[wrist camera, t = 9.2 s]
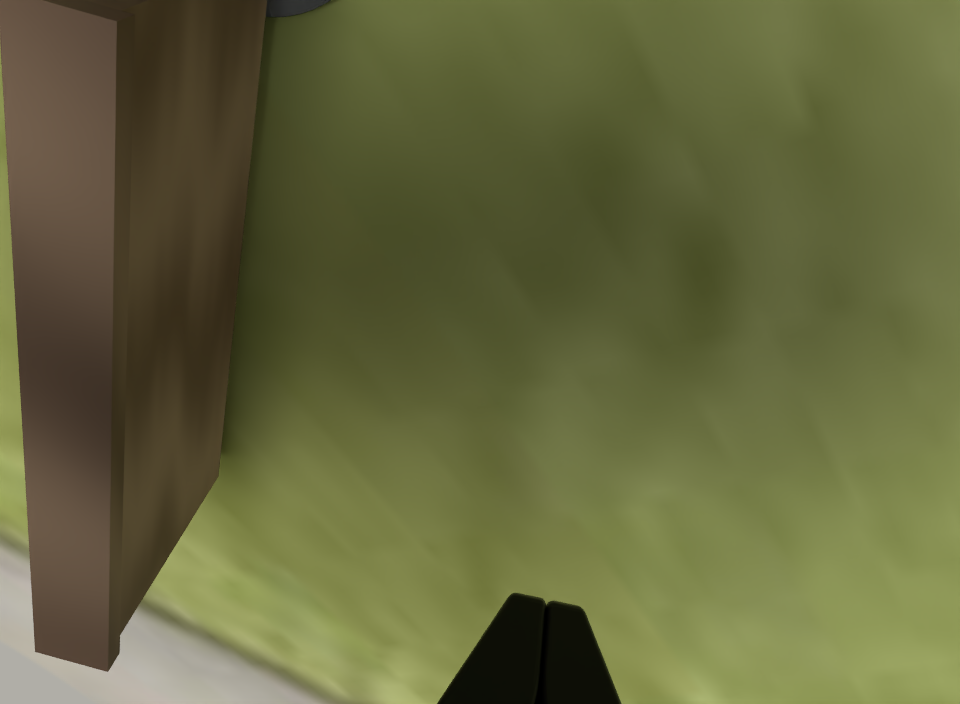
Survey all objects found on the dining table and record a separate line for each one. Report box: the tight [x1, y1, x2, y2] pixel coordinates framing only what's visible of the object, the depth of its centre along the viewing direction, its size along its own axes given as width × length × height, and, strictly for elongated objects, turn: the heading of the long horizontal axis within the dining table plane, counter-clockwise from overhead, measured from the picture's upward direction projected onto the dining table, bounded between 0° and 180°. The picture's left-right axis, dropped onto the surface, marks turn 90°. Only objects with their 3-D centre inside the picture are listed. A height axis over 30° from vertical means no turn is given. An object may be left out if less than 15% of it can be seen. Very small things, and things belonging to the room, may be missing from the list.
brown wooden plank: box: [0, 0, 267, 672], centre depth 18 cm, size 14×2×6 cm, turn 166°
